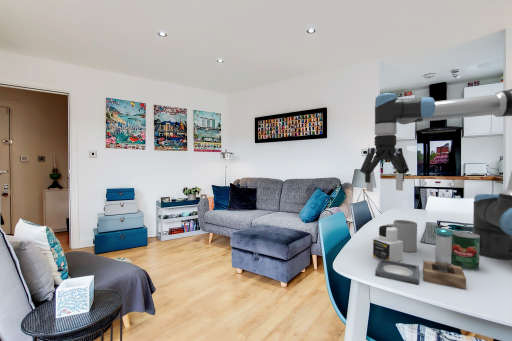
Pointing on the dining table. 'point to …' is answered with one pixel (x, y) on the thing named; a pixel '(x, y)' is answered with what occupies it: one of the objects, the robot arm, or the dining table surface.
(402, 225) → the mug
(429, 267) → the frame
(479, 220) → the robot arm
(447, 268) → the pin
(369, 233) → the dining table surface
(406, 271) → the dock cradle
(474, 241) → the canned tomato
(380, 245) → the medicine bottle
